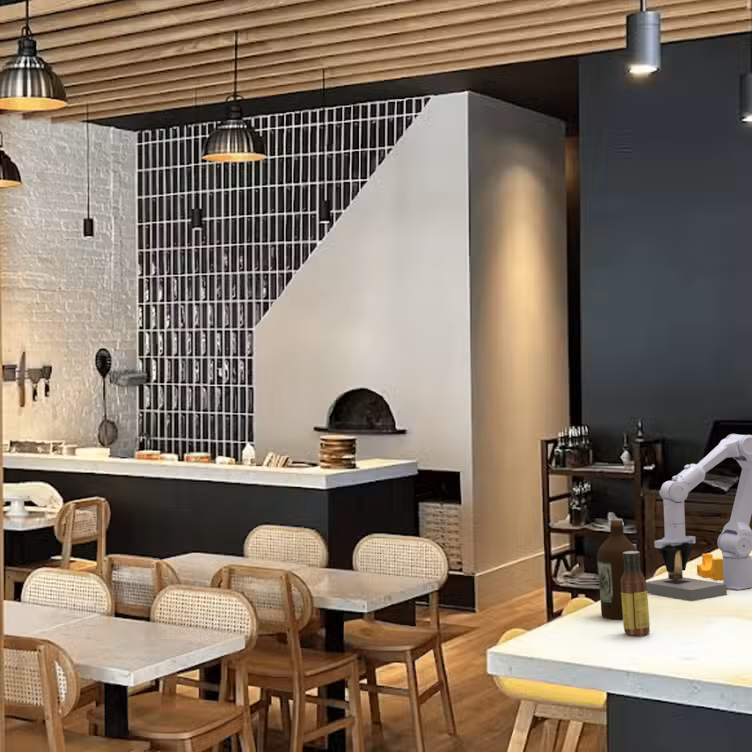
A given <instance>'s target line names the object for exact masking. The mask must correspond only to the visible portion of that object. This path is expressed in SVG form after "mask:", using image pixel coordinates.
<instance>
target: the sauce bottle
mask: <svg viewBox="0 0 752 752" xmlns="http://www.w3.org/2000/svg"><path fill="white" fill-rule="evenodd" d="M623 558H624V570H625V571H624V573H623V575H622V577H621V597H622V611H623V620H622V621H623V622H622V623H623V630H624V633H625V634H626V635H627V636H634V637H637V636H640V635H641V637H642V636H646V635H648V634H650V632H651V629H650V626H651V623H650V612H649V601H648V600H649V598H648V593H647V588H646V582H647V580H646V578H645V576H644V574H643V572H642V570H641V561H640V558H641V553H640V551H638V550H637V551H627V552H623Z"/></svg>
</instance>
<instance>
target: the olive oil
mask: <svg viewBox="0 0 752 752" xmlns="http://www.w3.org/2000/svg"><path fill="white" fill-rule="evenodd" d="M609 523H610V525H609V532H610V535H609V536H608V538H607V539H605V540H604V542H603V543H602V544H601V545H600V546H599V549H598V552H597V555H596V560H597V562H596V563H597V574H598V585H599V586H598V587H599V598H600V611H601V617H602V618H604V619H607V620H615V621H623V611H622V597H621V577H622V575H623V573H624V571H625V570H624V558H623V552H627V551H638V549H637V548H636V547H635V545H634V544H633V543H632V542H631V541H630V540H629V539H628V538H627V537H626V536H625V534H624V524H623V523H624V520H623V519H611V520H610V522H609Z"/></svg>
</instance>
